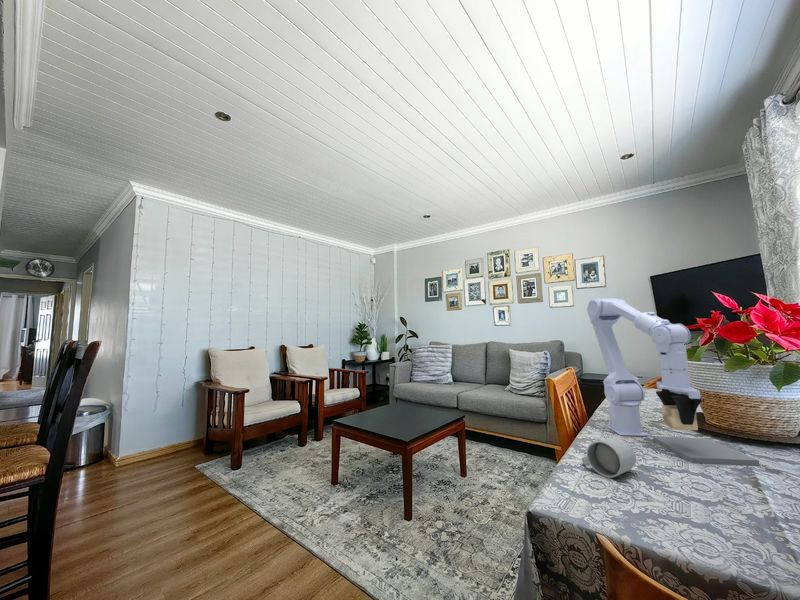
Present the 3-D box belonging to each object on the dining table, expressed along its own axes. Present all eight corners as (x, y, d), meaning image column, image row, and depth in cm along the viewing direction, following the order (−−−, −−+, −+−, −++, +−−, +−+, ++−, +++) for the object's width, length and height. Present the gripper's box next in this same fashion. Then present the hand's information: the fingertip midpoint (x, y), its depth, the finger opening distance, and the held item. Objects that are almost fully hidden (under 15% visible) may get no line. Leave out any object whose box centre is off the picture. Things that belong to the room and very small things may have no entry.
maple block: (663, 424, 87) (661, 405, 88) (684, 424, 86) (682, 405, 87) (675, 429, 82) (673, 409, 83) (698, 430, 81) (695, 410, 82)
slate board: (653, 441, 94) (652, 436, 94) (708, 442, 91) (707, 438, 92) (691, 462, 78) (691, 457, 78) (759, 465, 76) (758, 460, 76)
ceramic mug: (640, 473, 73) (636, 438, 74) (623, 483, 69) (619, 446, 70) (592, 459, 82) (589, 428, 83) (575, 467, 78) (571, 434, 79)
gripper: (642, 366, 94) (647, 413, 92) (674, 372, 80) (681, 429, 78) (670, 366, 92) (675, 414, 91) (707, 372, 78) (714, 429, 77)
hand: (680, 421), depth 85 cm, fingers closed on maple block, 5 cm apart
